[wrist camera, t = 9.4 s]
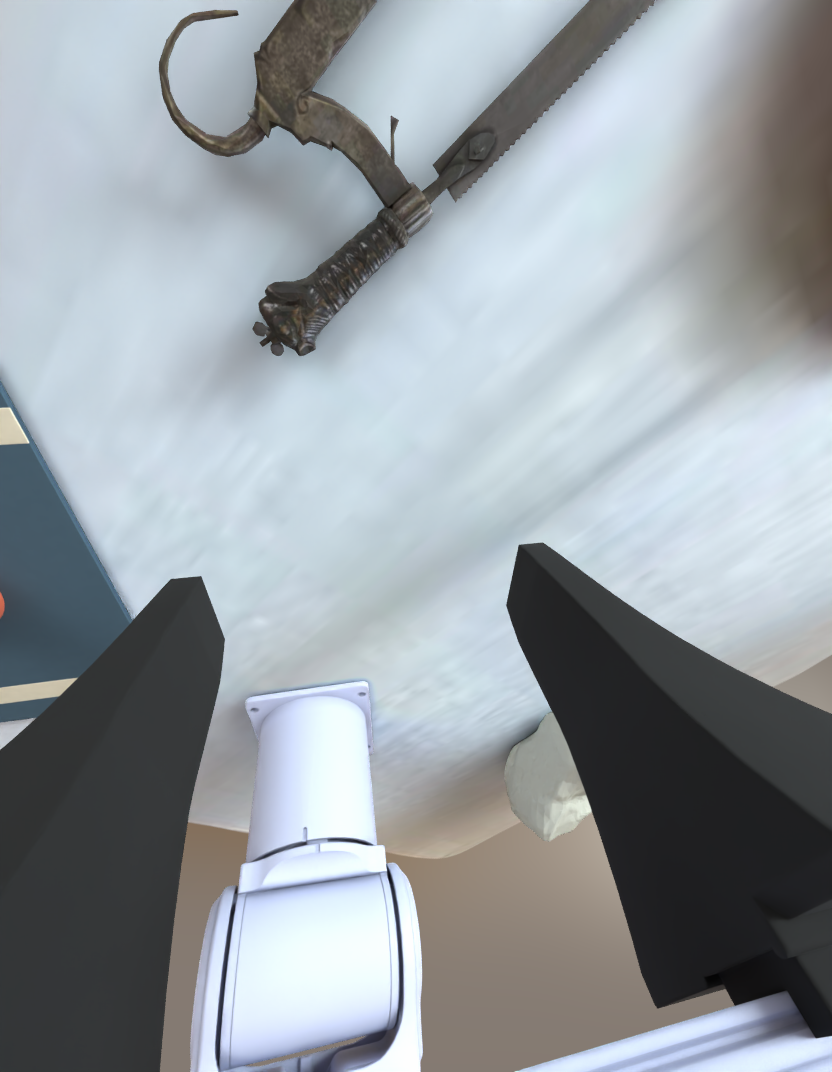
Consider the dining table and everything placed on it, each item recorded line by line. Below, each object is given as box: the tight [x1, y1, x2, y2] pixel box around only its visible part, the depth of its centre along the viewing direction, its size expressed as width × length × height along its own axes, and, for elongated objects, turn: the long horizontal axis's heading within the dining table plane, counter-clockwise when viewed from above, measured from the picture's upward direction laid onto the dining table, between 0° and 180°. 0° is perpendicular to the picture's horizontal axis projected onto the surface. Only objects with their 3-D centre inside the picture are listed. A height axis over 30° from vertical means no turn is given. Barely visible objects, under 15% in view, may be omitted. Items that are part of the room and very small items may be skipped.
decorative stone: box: [505, 712, 592, 842], centre depth 36 cm, size 11×9×10 cm
